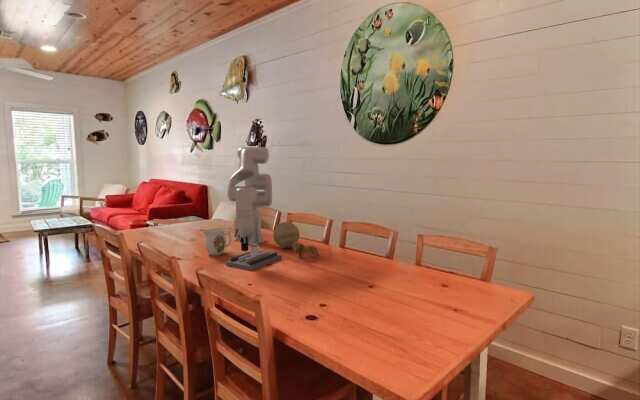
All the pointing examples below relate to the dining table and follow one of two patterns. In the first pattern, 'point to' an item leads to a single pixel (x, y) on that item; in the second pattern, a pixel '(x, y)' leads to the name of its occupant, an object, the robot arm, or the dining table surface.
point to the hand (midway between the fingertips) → (244, 250)
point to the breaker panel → (251, 267)
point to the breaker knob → (254, 249)
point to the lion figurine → (304, 249)
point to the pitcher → (216, 240)
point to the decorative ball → (286, 234)
